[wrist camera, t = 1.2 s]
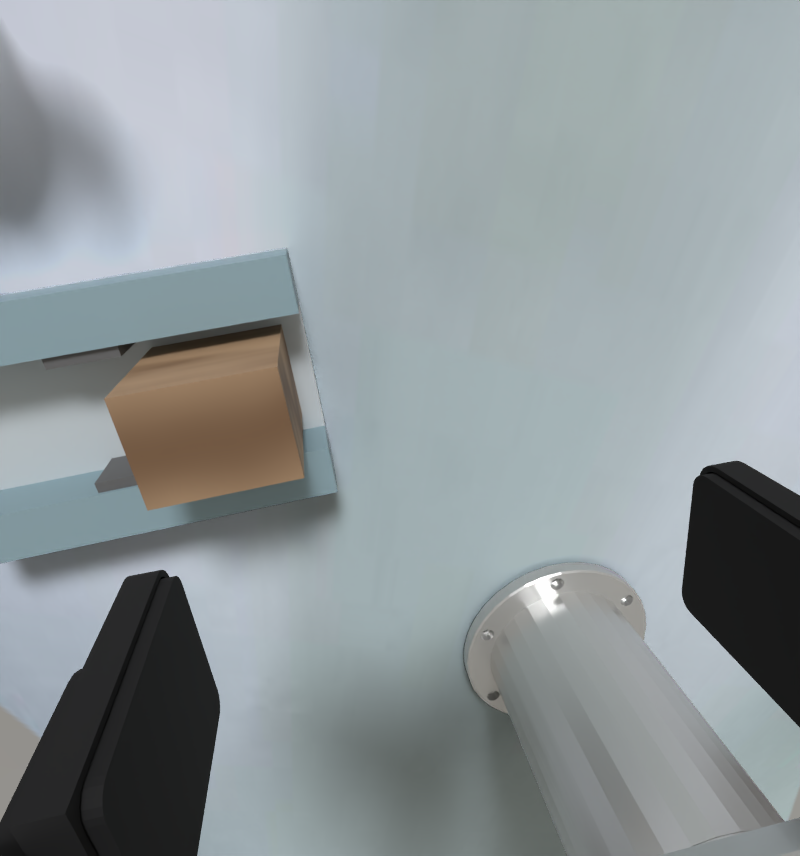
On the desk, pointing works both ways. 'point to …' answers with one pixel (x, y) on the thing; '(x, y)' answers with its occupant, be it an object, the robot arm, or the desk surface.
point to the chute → (99, 374)
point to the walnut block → (210, 417)
